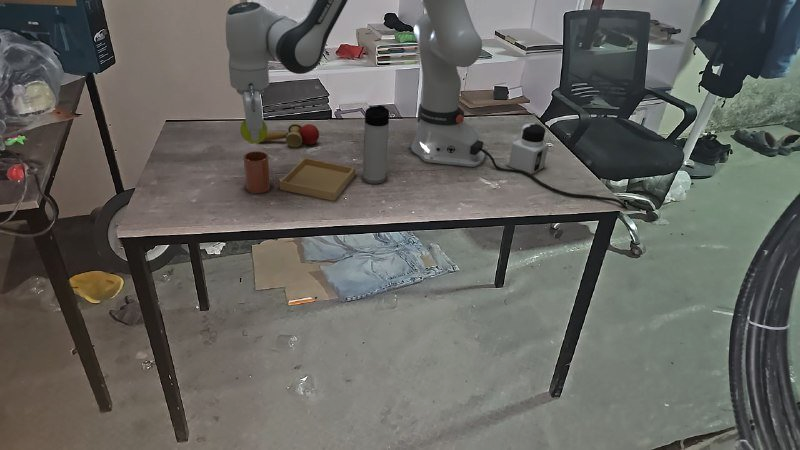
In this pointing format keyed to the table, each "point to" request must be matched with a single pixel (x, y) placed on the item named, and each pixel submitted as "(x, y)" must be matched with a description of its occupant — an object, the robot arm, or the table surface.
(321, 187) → the tray
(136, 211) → the table surface
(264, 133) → the tennis ball
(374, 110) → the travel mug
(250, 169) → the cup
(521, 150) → the container
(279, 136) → the kendama
